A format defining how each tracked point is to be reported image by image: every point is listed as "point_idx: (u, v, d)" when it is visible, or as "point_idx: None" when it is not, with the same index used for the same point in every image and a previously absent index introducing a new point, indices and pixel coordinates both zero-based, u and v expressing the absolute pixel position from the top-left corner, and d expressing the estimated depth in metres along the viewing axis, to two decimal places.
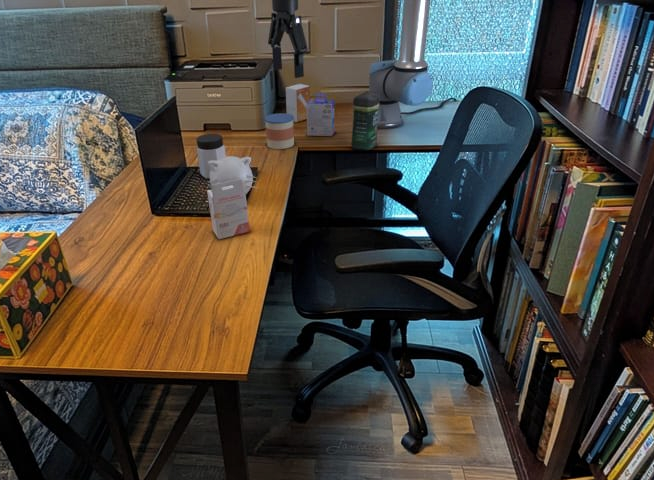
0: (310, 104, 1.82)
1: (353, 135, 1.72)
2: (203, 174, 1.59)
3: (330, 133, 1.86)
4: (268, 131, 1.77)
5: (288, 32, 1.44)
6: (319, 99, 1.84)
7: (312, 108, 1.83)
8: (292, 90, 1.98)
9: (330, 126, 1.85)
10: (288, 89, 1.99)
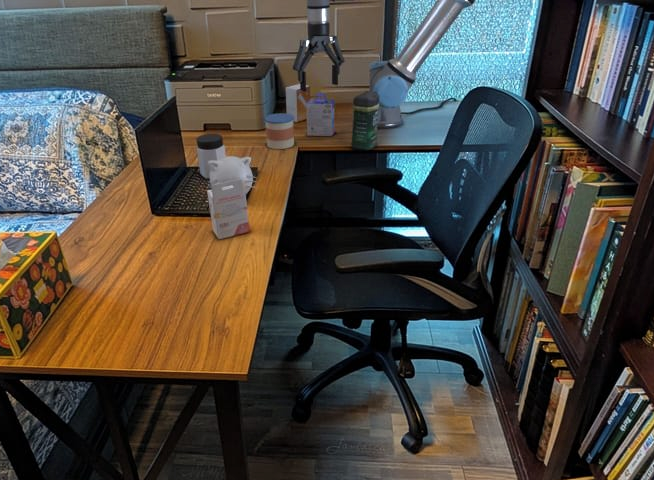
0: (310, 104, 1.82)
1: (353, 135, 1.72)
2: (203, 174, 1.59)
3: (330, 133, 1.86)
4: (268, 131, 1.77)
5: None
6: (319, 99, 1.84)
7: (312, 108, 1.83)
8: (292, 90, 1.98)
9: (330, 126, 1.85)
10: (288, 89, 1.99)
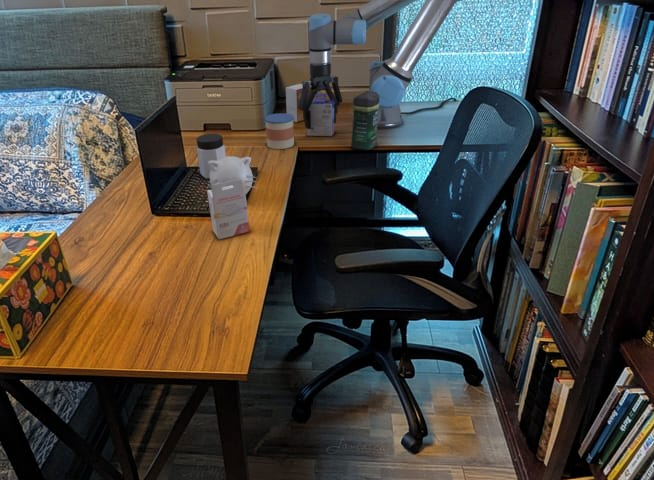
0: None
1: (353, 135, 1.72)
2: (203, 174, 1.59)
3: (330, 133, 1.86)
4: (268, 131, 1.77)
5: None
6: (319, 99, 1.84)
7: (312, 108, 1.83)
8: (292, 90, 1.98)
9: (330, 126, 1.85)
10: (288, 89, 1.99)
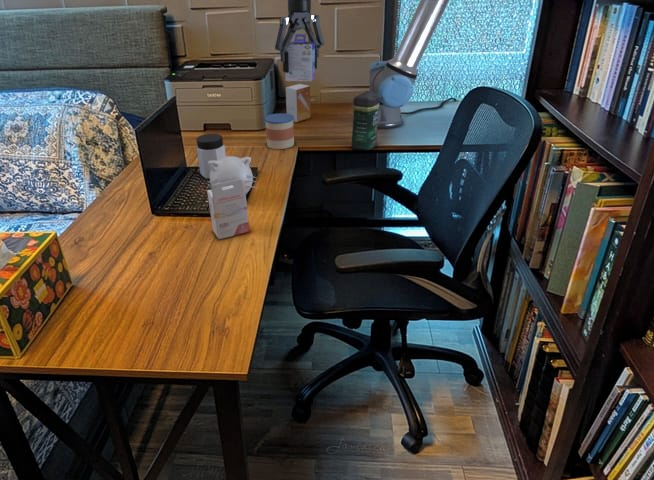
0: None
1: (353, 135, 1.72)
2: (203, 174, 1.59)
3: (310, 78, 1.72)
4: (268, 131, 1.77)
5: None
6: (298, 40, 1.69)
7: (290, 49, 1.68)
8: (292, 90, 1.98)
9: (310, 70, 1.70)
10: (288, 89, 1.99)
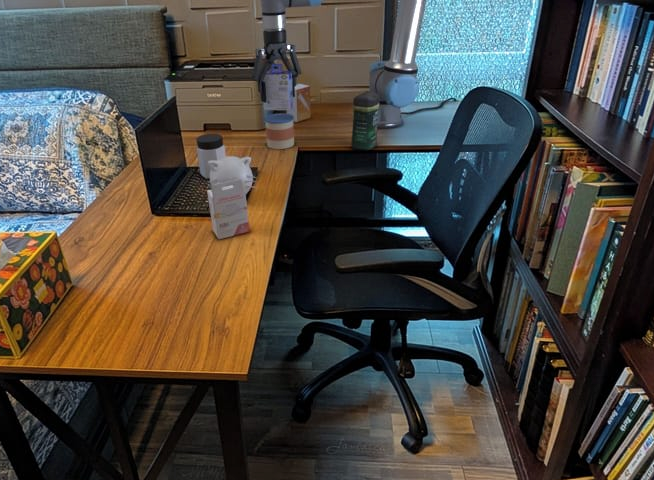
0: None
1: (353, 135, 1.72)
2: (203, 174, 1.59)
3: (288, 107, 1.72)
4: (268, 131, 1.77)
5: None
6: (275, 70, 1.69)
7: (267, 79, 1.68)
8: None
9: (287, 99, 1.70)
10: None
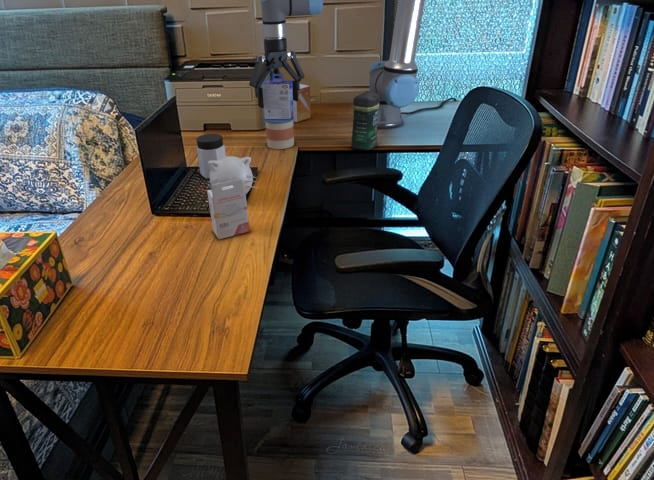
0: (266, 84, 1.69)
1: (353, 135, 1.72)
2: (203, 174, 1.59)
3: (288, 116, 1.73)
4: (268, 131, 1.77)
5: None
6: (276, 79, 1.71)
7: (268, 89, 1.70)
8: None
9: (288, 108, 1.72)
10: None
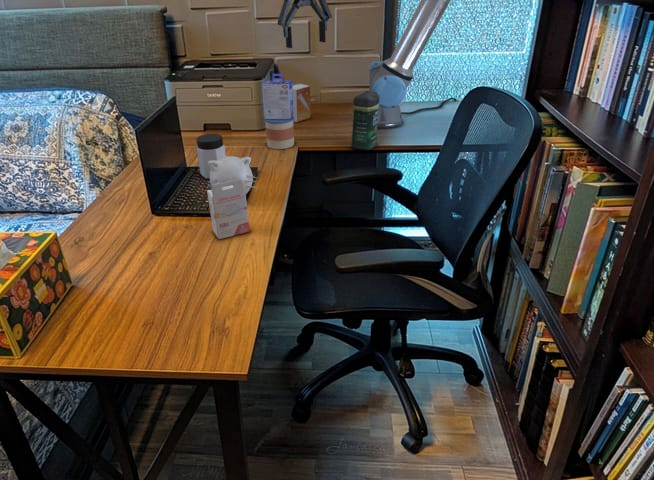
0: (266, 84, 1.69)
1: (353, 135, 1.72)
2: (203, 174, 1.59)
3: (288, 116, 1.73)
4: (268, 131, 1.77)
5: None
6: (276, 79, 1.71)
7: (268, 89, 1.70)
8: None
9: (288, 108, 1.72)
10: None
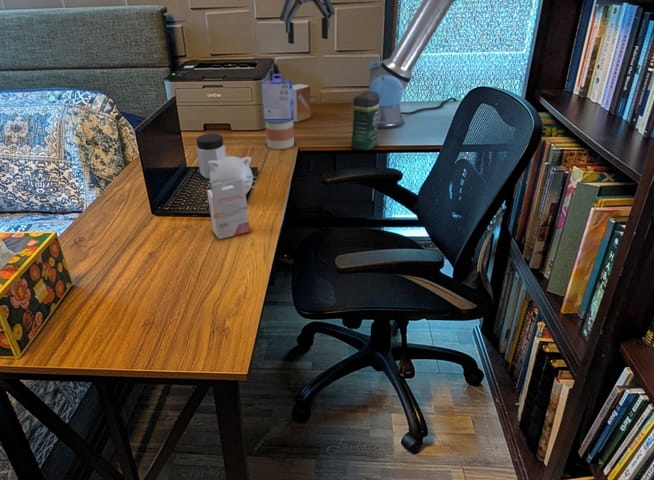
0: (266, 84, 1.69)
1: (353, 135, 1.72)
2: (203, 174, 1.59)
3: (288, 116, 1.73)
4: (268, 131, 1.77)
5: None
6: (276, 79, 1.71)
7: (268, 89, 1.70)
8: None
9: (288, 108, 1.72)
10: None
